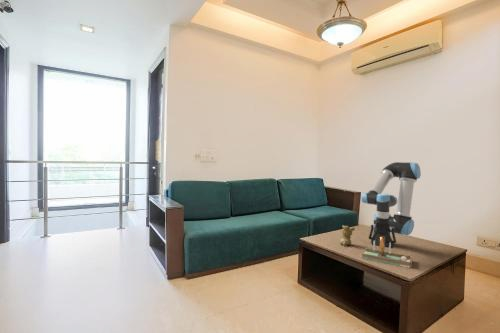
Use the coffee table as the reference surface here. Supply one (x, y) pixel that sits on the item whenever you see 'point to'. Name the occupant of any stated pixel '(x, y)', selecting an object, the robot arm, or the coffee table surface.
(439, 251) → the coffee table surface
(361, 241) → the coffee table surface
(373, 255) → the pitch
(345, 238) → the figurine
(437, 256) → the coffee table surface
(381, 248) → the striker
